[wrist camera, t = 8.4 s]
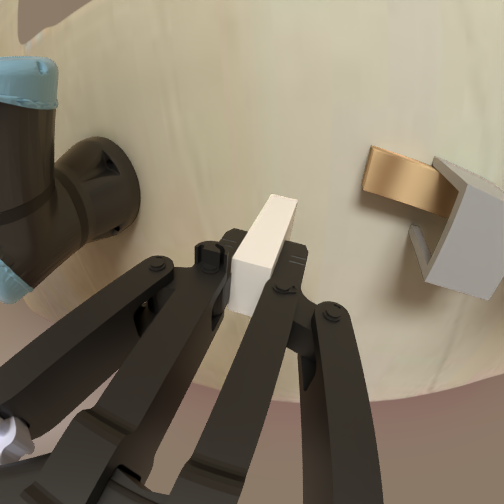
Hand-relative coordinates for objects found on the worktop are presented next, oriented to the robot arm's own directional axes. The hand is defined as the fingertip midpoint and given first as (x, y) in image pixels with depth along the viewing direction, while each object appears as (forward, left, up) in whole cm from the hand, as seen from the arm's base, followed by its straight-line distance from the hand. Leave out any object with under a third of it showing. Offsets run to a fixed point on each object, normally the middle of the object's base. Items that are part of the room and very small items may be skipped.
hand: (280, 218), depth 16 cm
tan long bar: (+14, +1, -14) cm, 20 cm away
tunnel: (+16, 0, -14) cm, 22 cm away
